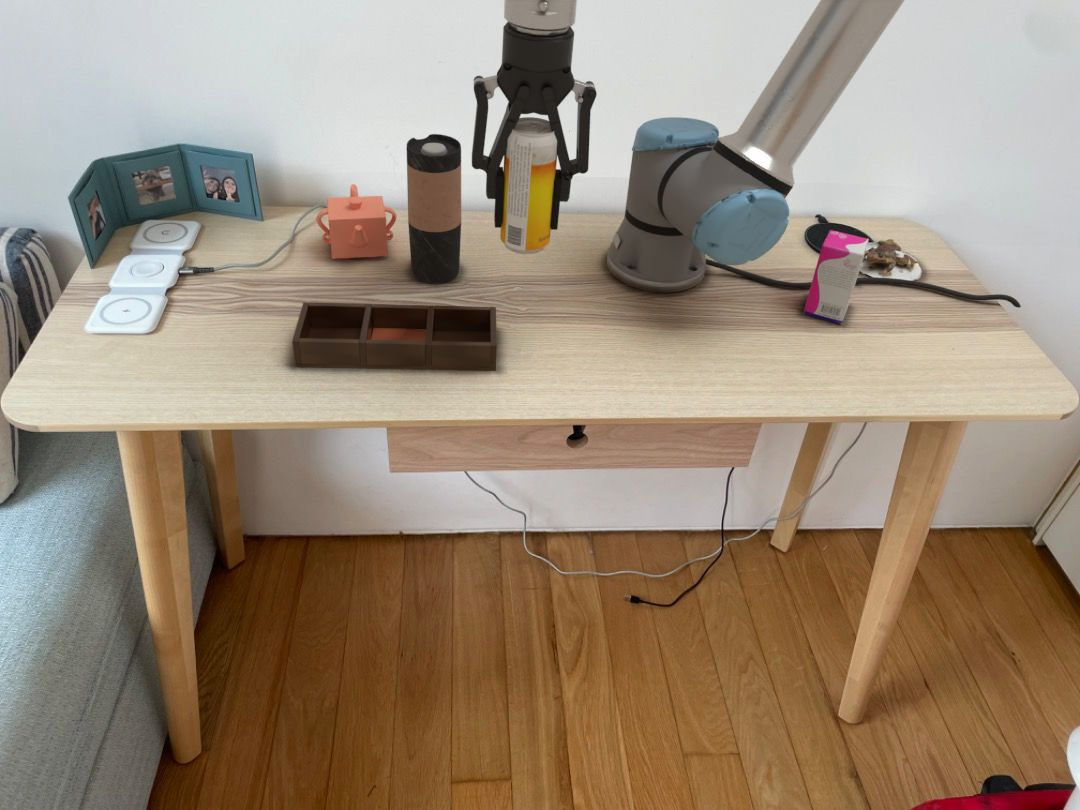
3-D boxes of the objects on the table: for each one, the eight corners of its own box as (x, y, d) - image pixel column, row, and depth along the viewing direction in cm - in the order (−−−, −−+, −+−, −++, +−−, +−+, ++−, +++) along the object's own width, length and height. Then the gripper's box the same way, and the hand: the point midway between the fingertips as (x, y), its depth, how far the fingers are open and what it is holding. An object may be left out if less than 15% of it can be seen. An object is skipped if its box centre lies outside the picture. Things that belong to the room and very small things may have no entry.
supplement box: (848, 306, 136) (870, 238, 128) (841, 325, 131) (863, 256, 124) (810, 295, 137) (830, 227, 130) (801, 314, 133) (821, 245, 126)
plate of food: (895, 291, 140) (903, 270, 137) (832, 258, 147) (838, 237, 144) (936, 270, 146) (944, 249, 143) (873, 239, 153) (880, 219, 150)
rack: (495, 331, 125) (496, 306, 122) (495, 370, 118) (496, 345, 115) (306, 326, 123) (303, 302, 120) (295, 367, 116) (291, 341, 113)
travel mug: (452, 288, 133) (453, 159, 120) (403, 280, 134) (397, 151, 121) (466, 263, 139) (468, 137, 126) (418, 255, 140) (415, 130, 127)
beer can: (555, 238, 113) (566, 121, 103) (540, 261, 108) (549, 140, 99) (509, 228, 114) (516, 112, 105) (492, 250, 109) (497, 130, 100)
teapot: (321, 276, 133) (315, 225, 128) (318, 227, 144) (313, 179, 139) (402, 271, 135) (400, 221, 130) (393, 224, 147) (391, 176, 141)
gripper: (447, 30, 91) (445, 235, 106) (633, 40, 93) (607, 241, 107) (448, 9, 97) (447, 206, 111) (624, 19, 99) (599, 211, 113)
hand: (525, 223), depth 109 cm, fingers closed on beer can, 6 cm apart
